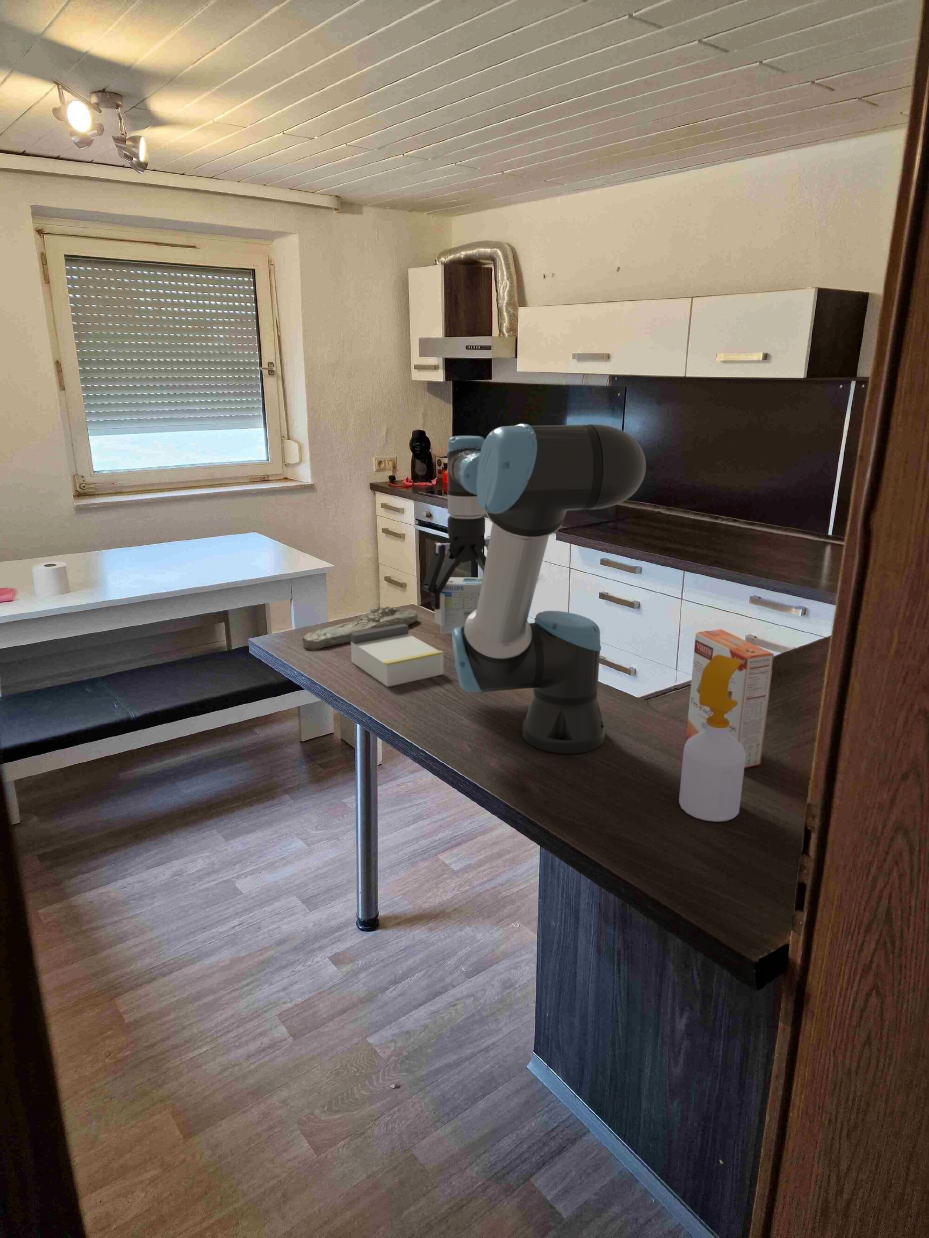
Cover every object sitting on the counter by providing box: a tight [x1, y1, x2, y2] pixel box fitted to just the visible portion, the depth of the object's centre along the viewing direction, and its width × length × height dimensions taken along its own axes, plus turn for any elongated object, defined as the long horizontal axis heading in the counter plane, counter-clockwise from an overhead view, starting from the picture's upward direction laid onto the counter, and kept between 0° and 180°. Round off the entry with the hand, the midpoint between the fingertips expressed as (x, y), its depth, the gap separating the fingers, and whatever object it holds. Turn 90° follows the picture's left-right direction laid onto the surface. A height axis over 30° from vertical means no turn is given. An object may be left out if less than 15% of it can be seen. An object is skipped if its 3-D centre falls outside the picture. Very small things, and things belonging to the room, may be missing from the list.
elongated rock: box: [301, 605, 419, 650], centre depth 207 cm, size 35×5×10 cm
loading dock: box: [350, 624, 444, 688], centre depth 183 cm, size 18×14×7 cm
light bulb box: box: [438, 576, 483, 635], centre depth 166 cm, size 11×7×11 cm, turn 84°
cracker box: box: [686, 628, 775, 769], centre depth 141 cm, size 14×6×21 cm, turn 21°
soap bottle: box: [678, 655, 746, 823], centre depth 122 cm, size 9×9×25 cm
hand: (466, 619), depth 167 cm, fingers closed on light bulb box, 12 cm apart
